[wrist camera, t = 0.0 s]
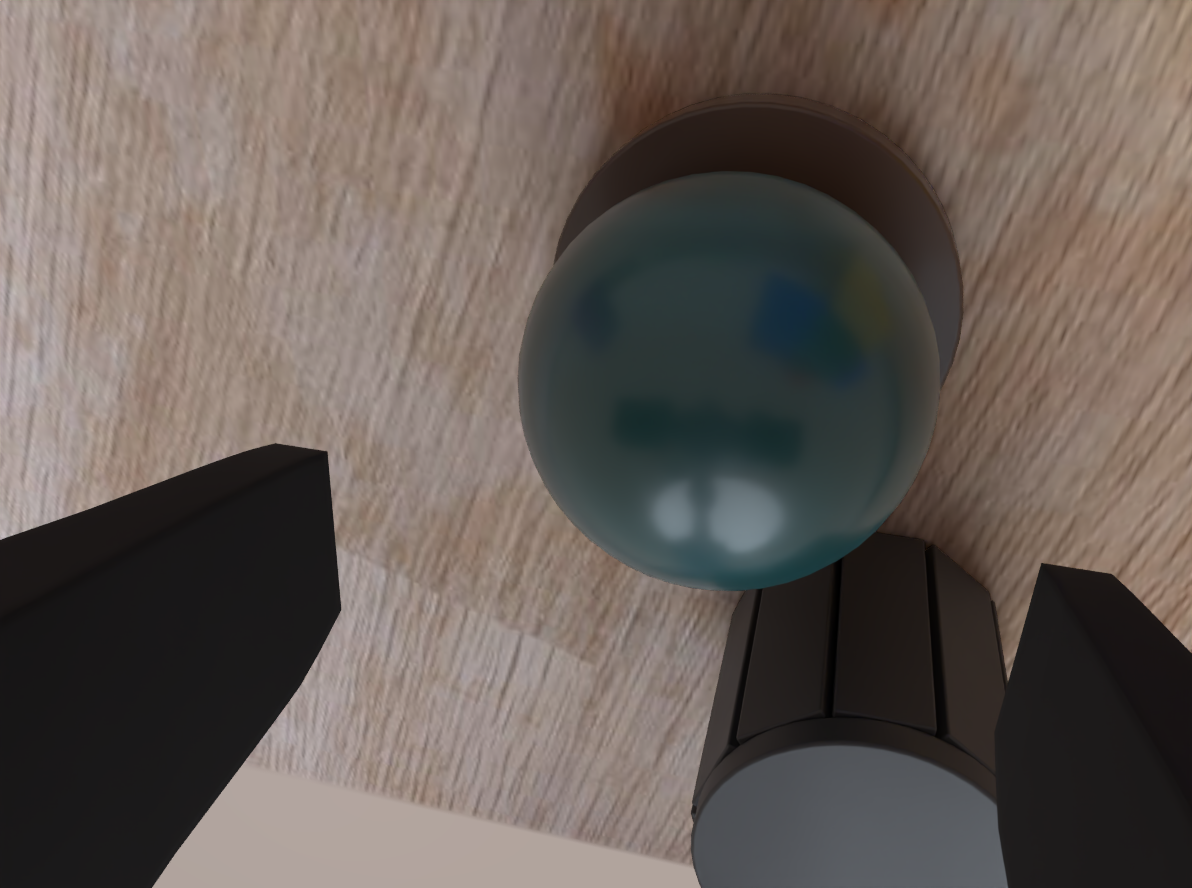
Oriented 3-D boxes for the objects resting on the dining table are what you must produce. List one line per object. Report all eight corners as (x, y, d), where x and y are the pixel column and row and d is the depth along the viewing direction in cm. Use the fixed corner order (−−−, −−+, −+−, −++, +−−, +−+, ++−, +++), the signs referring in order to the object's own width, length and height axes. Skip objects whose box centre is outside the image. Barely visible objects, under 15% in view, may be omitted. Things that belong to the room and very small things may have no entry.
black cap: (974, 763, 22) (1003, 1025, 17) (720, 714, 23) (672, 946, 18) (1031, 555, 20) (1084, 785, 14) (745, 510, 21) (698, 710, 15)
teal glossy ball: (919, 496, 20) (936, 755, 14) (560, 443, 21) (429, 657, 15) (1000, 110, 16) (1068, 223, 10) (570, 77, 18) (407, 160, 12)
